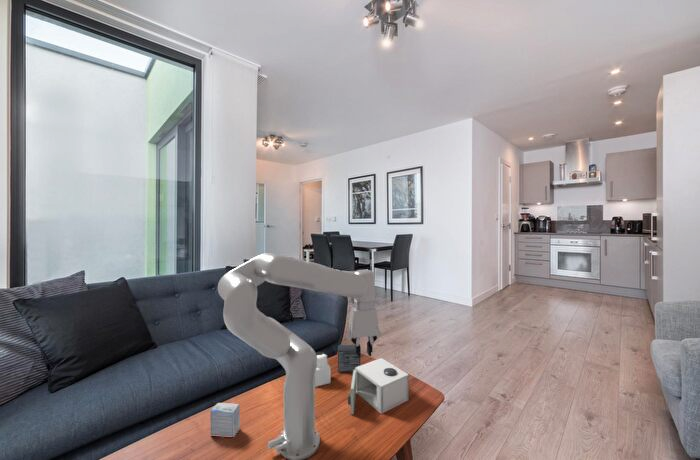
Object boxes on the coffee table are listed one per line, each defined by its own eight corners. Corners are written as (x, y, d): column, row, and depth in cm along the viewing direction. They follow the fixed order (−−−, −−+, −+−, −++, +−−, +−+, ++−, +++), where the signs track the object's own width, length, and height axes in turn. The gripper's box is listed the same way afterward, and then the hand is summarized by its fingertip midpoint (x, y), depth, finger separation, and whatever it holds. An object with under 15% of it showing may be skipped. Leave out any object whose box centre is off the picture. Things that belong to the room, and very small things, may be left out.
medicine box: (240, 429, 93) (240, 403, 93) (233, 439, 89) (233, 412, 89) (218, 427, 94) (217, 401, 94) (210, 437, 90) (209, 410, 89)
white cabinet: (381, 413, 101) (381, 384, 100) (355, 391, 114) (355, 366, 113) (408, 399, 108) (408, 372, 108) (381, 380, 122) (381, 356, 121)
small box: (360, 365, 135) (360, 344, 134) (360, 372, 128) (360, 350, 128) (338, 365, 135) (338, 344, 134) (337, 372, 128) (337, 350, 128)
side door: (347, 413, 100) (347, 388, 100) (351, 391, 113) (351, 369, 113) (353, 414, 100) (353, 388, 100) (356, 392, 113) (356, 369, 112)
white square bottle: (309, 378, 123) (309, 351, 123) (325, 375, 126) (325, 348, 126) (314, 387, 117) (314, 359, 116) (330, 383, 120) (330, 355, 119)
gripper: (382, 300, 106) (382, 348, 106) (339, 303, 102) (339, 352, 103) (389, 306, 99) (389, 357, 99) (343, 309, 95) (343, 362, 95)
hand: (363, 354), depth 101 cm, fingers open, 3 cm apart
